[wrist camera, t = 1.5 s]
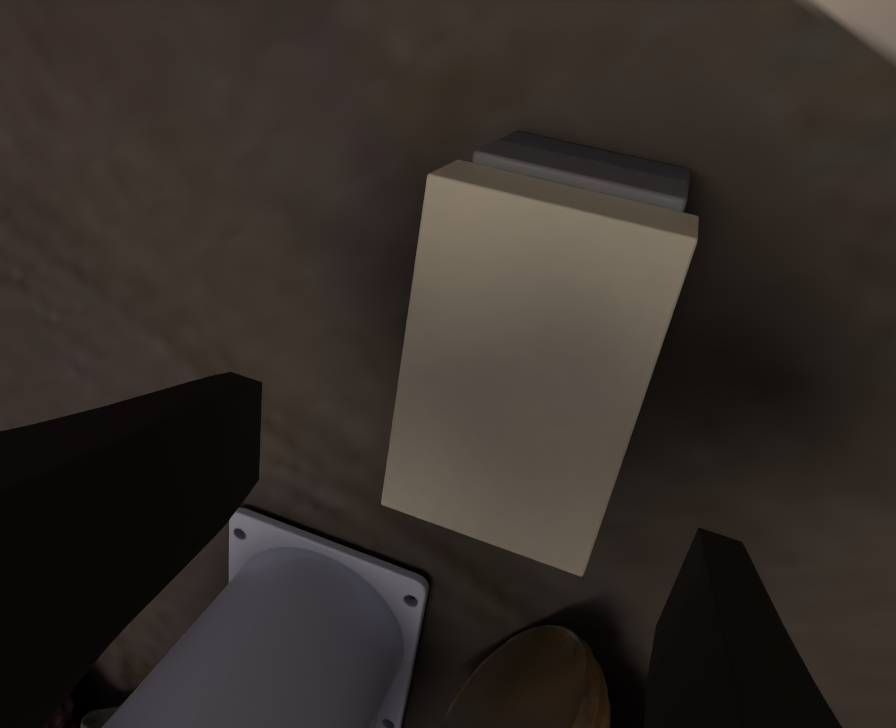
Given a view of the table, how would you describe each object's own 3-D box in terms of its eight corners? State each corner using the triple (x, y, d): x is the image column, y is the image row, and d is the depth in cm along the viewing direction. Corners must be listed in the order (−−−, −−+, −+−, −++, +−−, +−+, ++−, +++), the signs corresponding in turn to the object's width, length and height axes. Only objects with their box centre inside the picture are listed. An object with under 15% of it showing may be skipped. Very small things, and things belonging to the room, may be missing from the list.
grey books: (599, 458, 20) (579, 533, 17) (459, 413, 21) (417, 476, 18) (692, 169, 16) (688, 199, 13) (514, 129, 17) (472, 149, 14)
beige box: (593, 529, 17) (582, 578, 15) (407, 465, 18) (379, 505, 17) (700, 215, 13) (698, 239, 12) (456, 158, 14) (427, 173, 13)
